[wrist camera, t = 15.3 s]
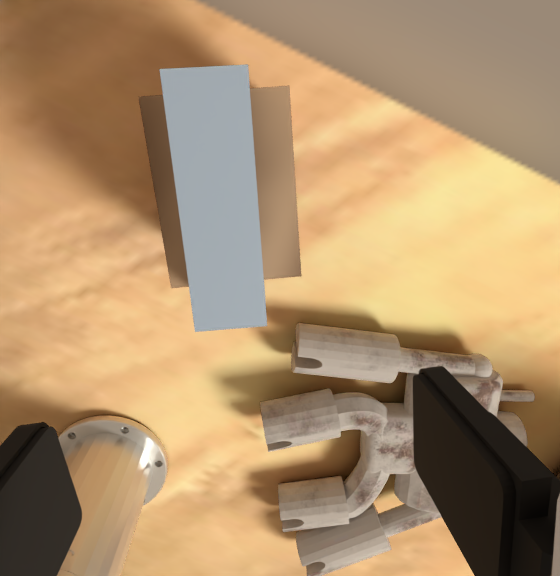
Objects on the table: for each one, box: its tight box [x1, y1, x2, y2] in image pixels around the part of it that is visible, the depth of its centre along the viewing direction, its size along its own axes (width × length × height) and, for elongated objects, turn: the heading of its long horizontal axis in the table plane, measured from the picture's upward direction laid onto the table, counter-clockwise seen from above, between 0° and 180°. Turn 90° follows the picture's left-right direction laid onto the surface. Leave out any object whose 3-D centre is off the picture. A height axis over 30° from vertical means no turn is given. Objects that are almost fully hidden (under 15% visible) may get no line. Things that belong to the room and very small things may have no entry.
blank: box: [160, 65, 267, 332], centre depth 23 cm, size 13×4×6 cm, turn 3°
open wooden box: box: [139, 86, 301, 288], centre depth 31 cm, size 9×12×11 cm
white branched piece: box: [260, 323, 535, 576], centre depth 43 cm, size 31×7×30 cm
